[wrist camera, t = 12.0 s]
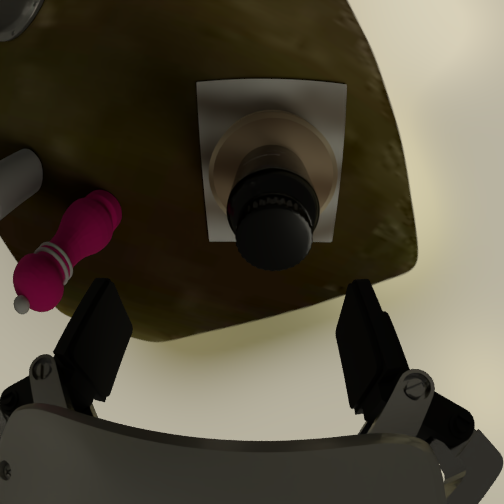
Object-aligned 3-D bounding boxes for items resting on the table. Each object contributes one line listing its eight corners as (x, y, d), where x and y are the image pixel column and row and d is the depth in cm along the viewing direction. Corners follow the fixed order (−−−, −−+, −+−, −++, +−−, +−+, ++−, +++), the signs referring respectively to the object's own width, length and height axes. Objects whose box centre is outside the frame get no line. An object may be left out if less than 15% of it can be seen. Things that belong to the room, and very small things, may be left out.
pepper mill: (122, 185, 32) (25, 287, 16) (128, 233, 36) (57, 345, 20) (79, 185, 32) (-18, 274, 15) (88, 230, 36) (12, 328, 19)
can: (32, 199, 33) (-15, 239, 23) (11, 165, 29) (-39, 198, 19) (53, 174, 31) (-1, 213, 21) (30, 137, 27) (-28, 166, 17)
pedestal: (197, 82, 25) (186, 81, 21) (345, 84, 24) (359, 84, 21) (209, 239, 36) (203, 259, 32) (331, 240, 36) (338, 260, 32)
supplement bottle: (265, 129, 24) (267, 162, 14) (319, 172, 26) (354, 232, 16) (222, 182, 27) (198, 248, 17) (275, 219, 29) (282, 299, 19)
